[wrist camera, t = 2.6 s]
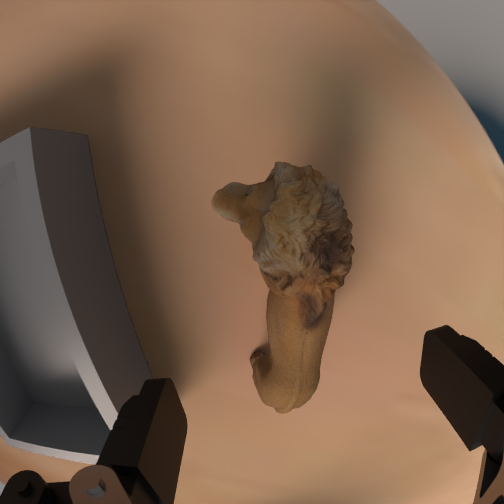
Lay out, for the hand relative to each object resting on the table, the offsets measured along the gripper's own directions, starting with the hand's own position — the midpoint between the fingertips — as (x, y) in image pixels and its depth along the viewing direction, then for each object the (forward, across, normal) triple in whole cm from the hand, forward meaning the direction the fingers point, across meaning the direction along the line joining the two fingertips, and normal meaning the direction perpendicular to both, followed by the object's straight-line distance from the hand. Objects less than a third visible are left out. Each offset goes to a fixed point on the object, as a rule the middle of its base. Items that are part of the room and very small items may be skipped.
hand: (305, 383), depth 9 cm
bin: (+10, +17, 0) cm, 20 cm away
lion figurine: (+10, 0, 0) cm, 11 cm away
